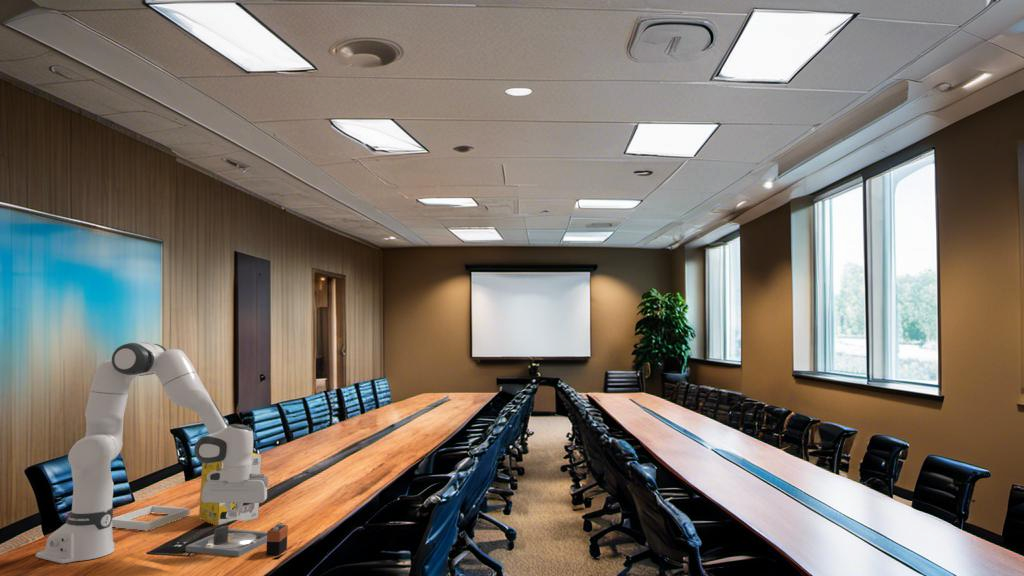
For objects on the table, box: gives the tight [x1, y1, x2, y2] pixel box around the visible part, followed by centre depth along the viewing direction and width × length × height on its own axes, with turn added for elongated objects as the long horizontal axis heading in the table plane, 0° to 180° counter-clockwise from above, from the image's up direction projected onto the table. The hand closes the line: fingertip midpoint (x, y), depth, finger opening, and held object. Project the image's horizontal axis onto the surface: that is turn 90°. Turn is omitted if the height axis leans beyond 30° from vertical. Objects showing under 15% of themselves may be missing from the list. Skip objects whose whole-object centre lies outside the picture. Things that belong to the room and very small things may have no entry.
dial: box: [208, 525, 257, 549], centre depth 207 cm, size 15×15×7 cm
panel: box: [185, 528, 267, 558], centre depth 207 cm, size 20×20×4 cm
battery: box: [265, 522, 289, 560], centre depth 200 cm, size 4×7×10 cm, turn 178°
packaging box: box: [198, 452, 263, 527], centre depth 243 cm, size 16×16×25 cm
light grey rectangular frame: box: [111, 505, 191, 531], centre depth 236 cm, size 18×21×3 cm
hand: (233, 516), depth 202 cm, fingers closed
